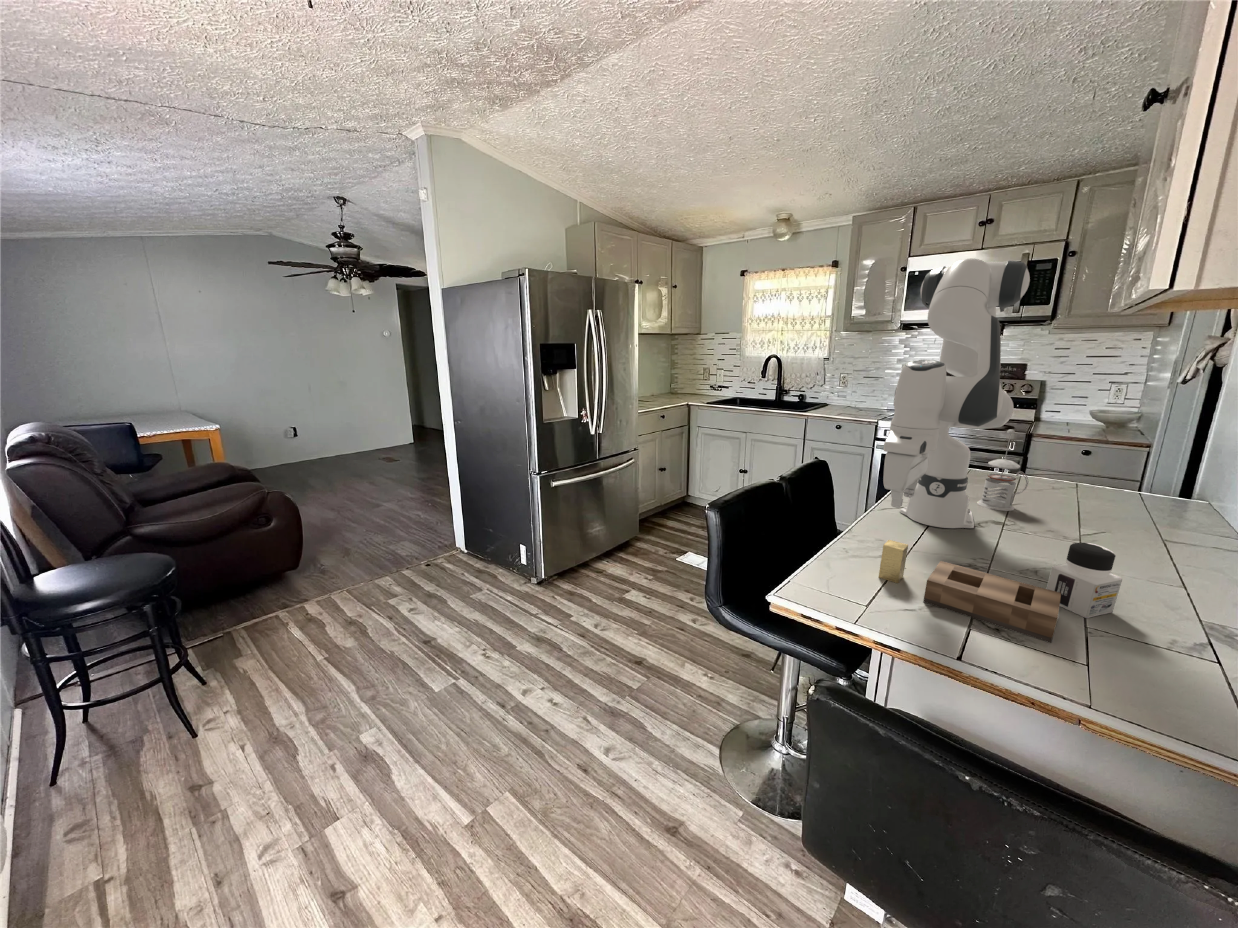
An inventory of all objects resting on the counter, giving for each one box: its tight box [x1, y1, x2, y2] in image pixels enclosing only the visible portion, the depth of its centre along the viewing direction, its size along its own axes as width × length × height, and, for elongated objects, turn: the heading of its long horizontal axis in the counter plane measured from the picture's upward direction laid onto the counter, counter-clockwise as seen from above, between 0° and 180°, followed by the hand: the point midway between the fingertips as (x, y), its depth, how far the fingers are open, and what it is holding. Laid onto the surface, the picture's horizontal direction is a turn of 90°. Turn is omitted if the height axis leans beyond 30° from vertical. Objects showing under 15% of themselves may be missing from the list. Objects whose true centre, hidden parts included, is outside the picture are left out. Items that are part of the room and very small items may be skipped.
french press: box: [976, 429, 1029, 512], centre depth 152 cm, size 10×12×25 cm
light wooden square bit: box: [878, 539, 909, 584], centre depth 109 cm, size 4×4×8 cm
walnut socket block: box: [923, 560, 1061, 644], centre depth 97 cm, size 12×20×5 cm, turn 46°
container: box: [1045, 542, 1123, 619], centre depth 97 cm, size 8×8×13 cm
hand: (902, 501), depth 105 cm, fingers open, 8 cm apart
